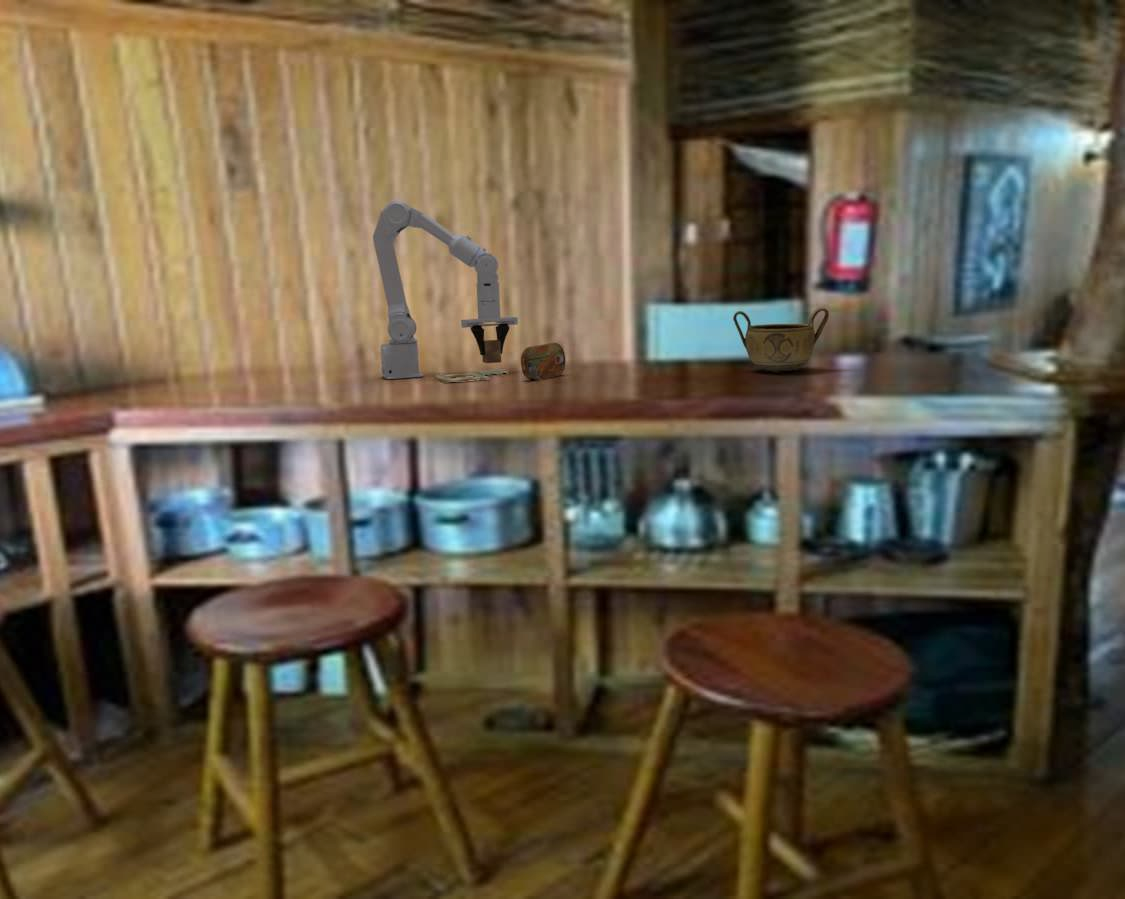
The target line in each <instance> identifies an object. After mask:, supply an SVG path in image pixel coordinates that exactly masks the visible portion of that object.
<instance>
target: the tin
mask: <svg viewBox="0 0 1125 899" xmlns="http://www.w3.org/2000/svg"><path fill="white" fill-rule="evenodd" d="M520 367H521V371H522V374H523V375H524V377H525V378H526V379H528V380H530V379H532V380H531V381H541V380H540V379H543V380H546V379H545V378H547V379H551V378H550V377H552V378H556V377H555V376H557V377H560V376H561V375H562V373H563V372H564V371H565V367H566V354H565V350H564V348H563V346H562V345H560V344H559V343H557V342H551V343H545V344H539V345H532V346H527V347H526V348H524V350H523V351H522V353H521V356H520Z"/></svg>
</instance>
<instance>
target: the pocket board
mask: <svg viewBox="0 0 1125 899" xmlns="http://www.w3.org/2000/svg"><path fill="white" fill-rule="evenodd" d="M466 376H473V377H468V378H456V377H466ZM435 378H436V379H435ZM451 378H455V379H451ZM434 379H435V380H437V379H438V380H437V381H439V380H440V381H439V382H441V381H443V382H445V383H447V382H460V381H469V380H489V381H490V377H489V376H485V375H482V374H480V373H476V372H470V373H456V374H454V373H453V374H442V375H441V374H439V375H434ZM443 382H442V383H443ZM445 383H444V384H445Z"/></svg>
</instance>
